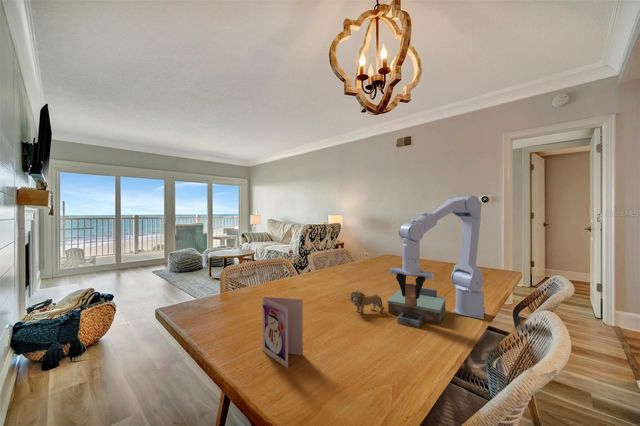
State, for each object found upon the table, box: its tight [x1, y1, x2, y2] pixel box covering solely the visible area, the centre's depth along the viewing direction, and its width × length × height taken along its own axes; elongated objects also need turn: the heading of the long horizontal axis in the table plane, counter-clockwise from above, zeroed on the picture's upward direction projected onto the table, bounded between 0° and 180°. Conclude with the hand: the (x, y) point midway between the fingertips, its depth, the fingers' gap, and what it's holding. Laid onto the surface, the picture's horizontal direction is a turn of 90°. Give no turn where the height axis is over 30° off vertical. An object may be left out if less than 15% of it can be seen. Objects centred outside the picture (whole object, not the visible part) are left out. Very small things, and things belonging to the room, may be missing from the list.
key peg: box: [405, 283, 417, 307], centre depth 90 cm, size 4×4×7 cm
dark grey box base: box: [387, 301, 446, 329], centre depth 96 cm, size 18×21×4 cm
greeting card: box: [261, 296, 304, 369], centre depth 70 cm, size 11×7×15 cm, turn 45°
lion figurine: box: [349, 290, 385, 316], centre depth 99 cm, size 15×5×9 cm, turn 109°
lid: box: [387, 287, 446, 313], centre depth 99 cm, size 18×15×4 cm
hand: (410, 296), depth 90 cm, fingers closed on key peg, 4 cm apart
